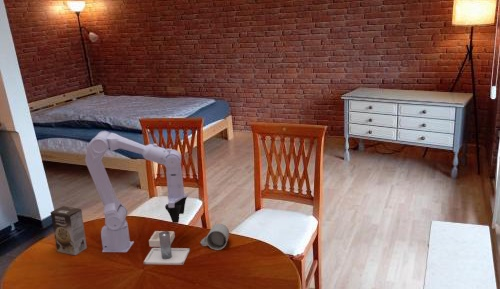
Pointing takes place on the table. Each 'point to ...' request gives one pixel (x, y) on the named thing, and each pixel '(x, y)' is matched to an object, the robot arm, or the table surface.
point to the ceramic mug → (216, 237)
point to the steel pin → (165, 245)
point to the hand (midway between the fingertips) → (178, 217)
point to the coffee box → (68, 230)
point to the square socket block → (155, 238)
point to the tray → (176, 259)
